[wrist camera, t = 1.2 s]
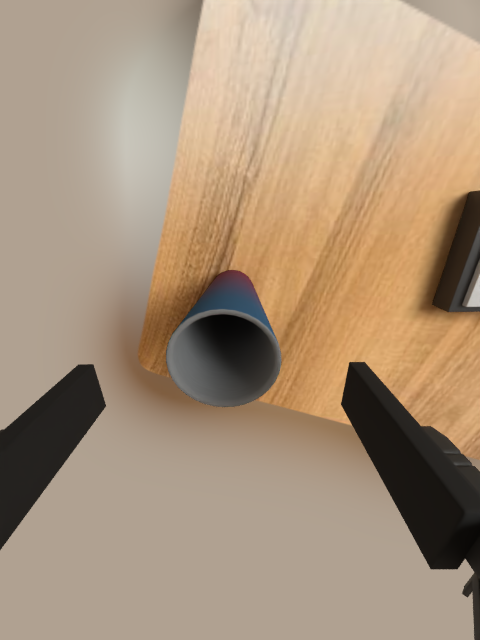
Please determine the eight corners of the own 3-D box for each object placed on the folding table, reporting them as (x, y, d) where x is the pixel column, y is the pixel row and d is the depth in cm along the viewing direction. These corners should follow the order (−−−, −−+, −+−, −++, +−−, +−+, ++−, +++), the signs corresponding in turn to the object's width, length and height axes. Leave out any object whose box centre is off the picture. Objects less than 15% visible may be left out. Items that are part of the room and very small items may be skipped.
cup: (240, 327, 29) (238, 422, 16) (193, 298, 28) (146, 375, 14) (273, 283, 27) (305, 350, 13) (223, 249, 26) (203, 284, 12)
